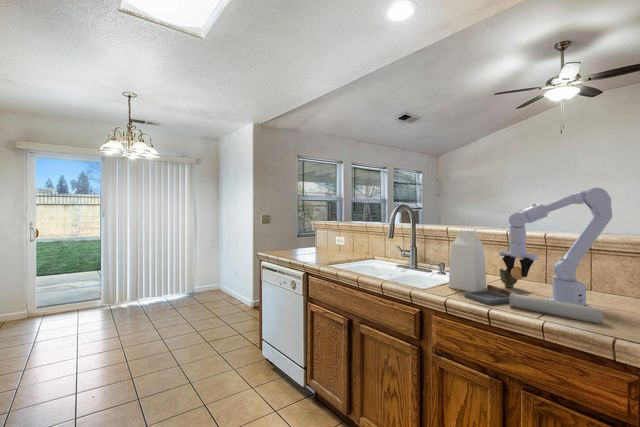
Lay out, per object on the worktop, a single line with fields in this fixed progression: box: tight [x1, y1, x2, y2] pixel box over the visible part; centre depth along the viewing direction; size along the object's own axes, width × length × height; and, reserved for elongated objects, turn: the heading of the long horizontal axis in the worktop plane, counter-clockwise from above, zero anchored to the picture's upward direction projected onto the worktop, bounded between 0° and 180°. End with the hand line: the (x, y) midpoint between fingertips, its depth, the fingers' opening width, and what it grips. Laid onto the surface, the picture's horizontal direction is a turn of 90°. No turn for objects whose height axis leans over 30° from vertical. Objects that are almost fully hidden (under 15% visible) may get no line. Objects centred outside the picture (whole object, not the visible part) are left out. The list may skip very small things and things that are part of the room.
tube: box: [508, 293, 605, 324], centre depth 104 cm, size 5×5×25 cm
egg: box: [511, 266, 524, 280], centre depth 127 cm, size 5×5×5 cm
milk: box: [448, 229, 487, 292], centre depth 141 cm, size 12×12×26 cm
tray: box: [464, 289, 510, 306], centre depth 122 cm, size 12×12×2 cm
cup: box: [499, 268, 519, 289], centre depth 141 cm, size 8×7×8 cm
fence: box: [486, 284, 529, 296], centre depth 125 cm, size 18×1×3 cm, turn 17°
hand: (517, 275), depth 127 cm, fingers closed on egg, 5 cm apart
